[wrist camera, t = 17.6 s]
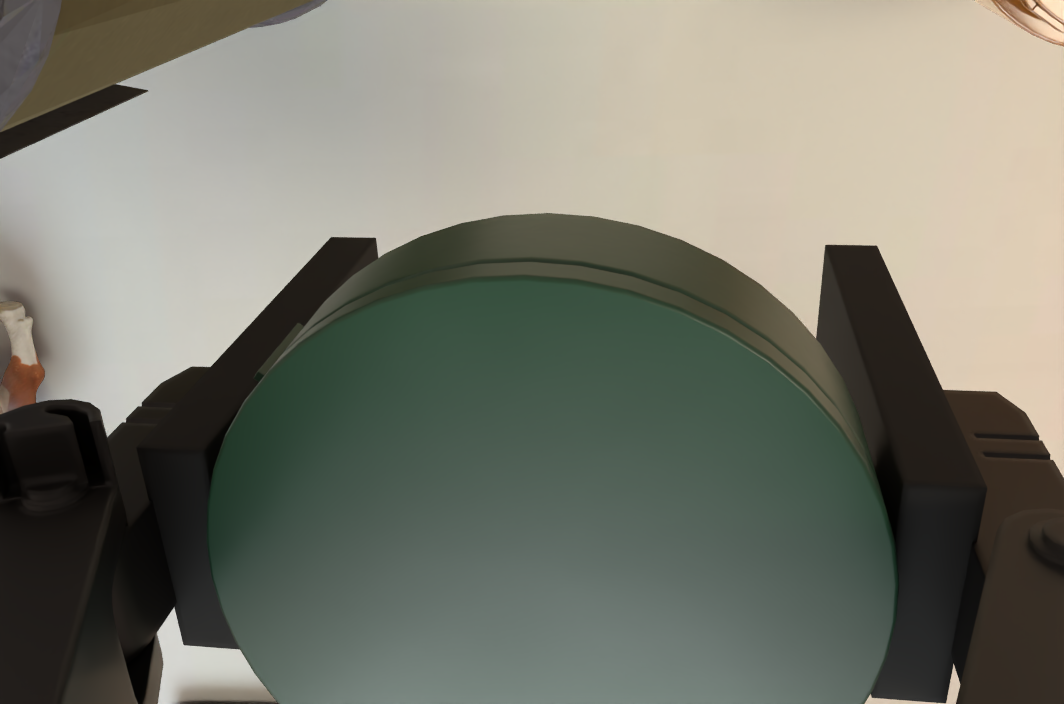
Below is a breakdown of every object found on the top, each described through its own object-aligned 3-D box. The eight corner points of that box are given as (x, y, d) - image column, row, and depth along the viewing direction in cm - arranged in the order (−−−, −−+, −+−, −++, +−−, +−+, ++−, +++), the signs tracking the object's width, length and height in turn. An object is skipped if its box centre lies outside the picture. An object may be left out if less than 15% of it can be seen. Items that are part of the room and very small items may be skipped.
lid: (167, 518, 13) (93, 612, 11) (471, 64, 10) (430, 106, 8) (612, 800, 14) (602, 921, 12) (1013, 471, 11) (1066, 577, 9)
